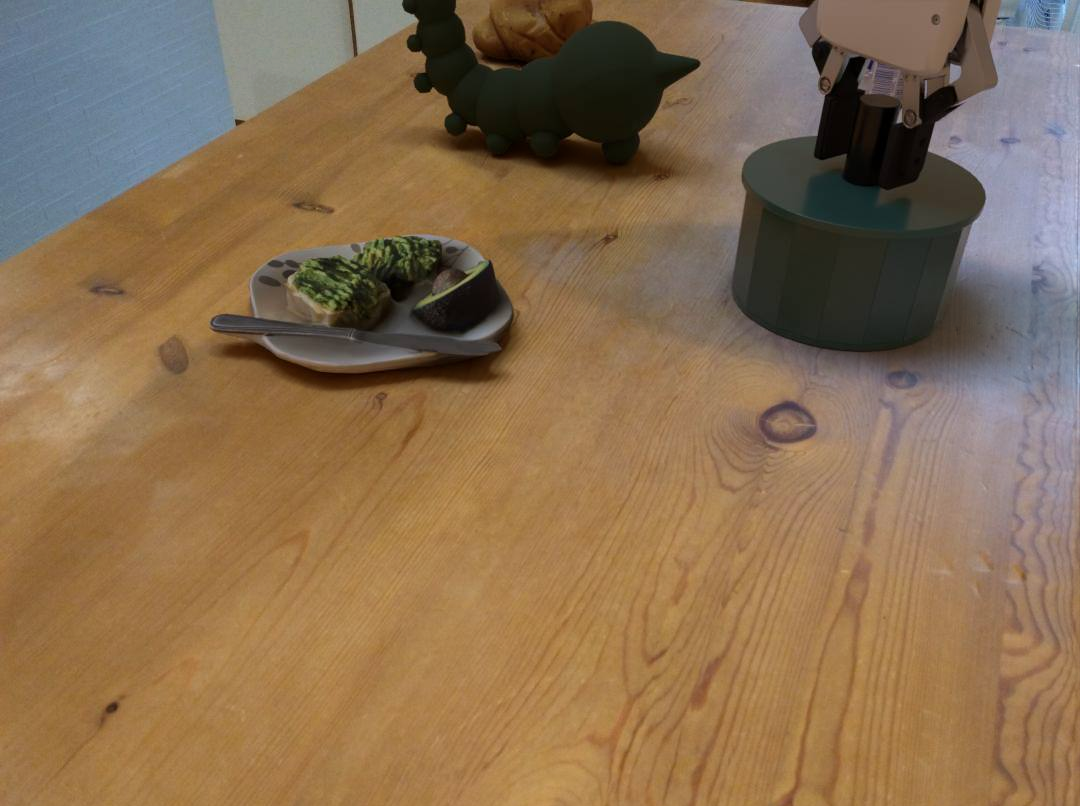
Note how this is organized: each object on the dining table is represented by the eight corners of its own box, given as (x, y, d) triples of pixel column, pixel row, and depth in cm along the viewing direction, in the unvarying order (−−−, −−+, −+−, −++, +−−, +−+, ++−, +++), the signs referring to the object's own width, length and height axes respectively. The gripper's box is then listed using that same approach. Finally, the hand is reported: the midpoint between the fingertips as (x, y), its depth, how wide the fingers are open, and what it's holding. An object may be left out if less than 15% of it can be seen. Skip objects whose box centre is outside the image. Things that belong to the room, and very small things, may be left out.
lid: (852, 136, 78) (871, 48, 74) (1031, 213, 69) (1064, 116, 65) (691, 180, 71) (703, 85, 67) (865, 272, 62) (891, 167, 58)
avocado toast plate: (225, 418, 62) (211, 349, 59) (203, 279, 75) (190, 216, 72) (540, 371, 67) (542, 305, 64) (469, 248, 79) (468, 188, 76)
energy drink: (876, 86, 110) (906, -43, 102) (920, 101, 107) (953, -31, 99) (844, 97, 107) (871, -35, 99) (888, 112, 104) (919, -23, 96)
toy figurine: (409, 170, 94) (686, 185, 88) (375, -71, 82) (692, -75, 76) (448, 134, 101) (707, 145, 94) (421, -94, 89) (716, -100, 82)
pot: (832, 235, 83) (854, 132, 77) (985, 314, 74) (1023, 203, 68) (689, 281, 76) (703, 172, 71) (838, 374, 67) (867, 257, 62)
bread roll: (465, 66, 112) (463, -18, 106) (483, 39, 119) (482, -41, 114) (586, 75, 110) (590, -9, 105) (597, 47, 118) (601, -33, 112)
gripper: (1123, -144, 53) (1009, 204, 65) (869, -188, 64) (811, 119, 76) (1031, -133, 50) (929, 231, 62) (779, -181, 61) (733, 139, 72)
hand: (865, 166), depth 69 cm, fingers open, 4 cm apart
